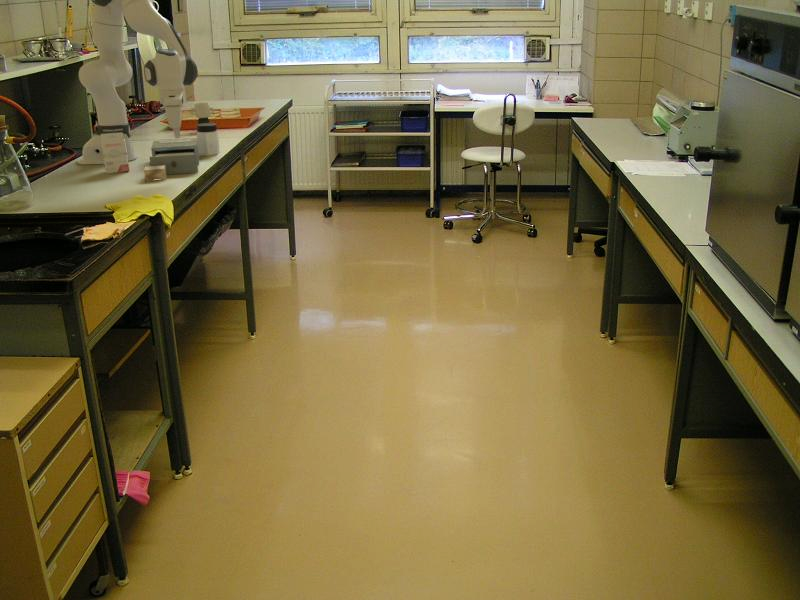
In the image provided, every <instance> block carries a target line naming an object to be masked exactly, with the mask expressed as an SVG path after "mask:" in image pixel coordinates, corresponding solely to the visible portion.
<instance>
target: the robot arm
mask: <svg viewBox="0 0 800 600" xmlns="http://www.w3.org/2000/svg"><path fill="white" fill-rule="evenodd" d="M91 2H92V3H93V4H94V5H93V6H94V7H93V12H92V13H93V14H92V32H91V33H92V35H91V40H92V43H93V45H94V46H95V47H96V48H97V50H98V55H99V59H96V60H91V61H88V62H86V63H84V64H83V65H82V66H81V67H79V71H78V80H79V82H80V84H82V86H83V87H85V88H86V90H88V92H89V94H90V96H91V97H92V100H93V102H94V105H95V111H96V116H97V123H98V124H95V125H94V126H93V132H94V133H93V134H94V135H93V136H92V137H91V138H90V139H89V140H88V141H87V142H86V143H85V144H84V145H83V146H82V155H81V156H80V157H79V158H78V159H77V164H79V165H104V159H103V152H102V146H101V136H100V135H101V134H107V133H121V132H122V133H123V137H124V139H125V144H126V150H127V157H128V162H129V161H133V160H135V159H137V155H136V153H135V150H134V147H133V143H132V140H131V136H132V135H131V134H132V132H131V126H130V124H129V121H128V115H127V108H126V107H127V106H126V103H125V102H124V100H122V99H121V97H120V96H119V95H118V92H117V87H121V86H123V85H126V84H127V83H128V82H129V81H131V79H132V77H133V68H132V66H131V64H130V62H128V60H127V58H126V54H125V50H124V18H125V21H126V23H127V25H128V26H129V28H131V29H132V30H133V31H135V32H136V33H138V34H142V35H145V36H150V37H152V38H153V37H154V38H157V39H159V40H161V41H163V42H164V43H165V44H166V46H167V47H168V48H162V49H159V50H157V51H156V52H155V57H153V58H151V59H148V60H147V61H146V62H145V64H144V66H143V74H144V79H145V81H146V83H148V84H149V85H151V87H156V88H157V87H158V95H159V101H160V102H159V103H160V105H162V107H164V110H165V114H166V118H167V122H168V126H169V128H170V129H172V130H173V133H174V138H175V139H180V138H181V132H180V131H181V126H182V110H181V109H182V108H184V104H185V103H186V102H187V97H186V89H185V88H186V87H185V86H191V85H192V84H194V82H195V81H196V80H197V78H198V76H199V74H198V73H199V72H198V70H199V69H198V67H197V64H196V62H195V61H194V59H193V58H192V57H191V55H190V53H188V51H187V49H186V47H185V46H184V44H183V41H182V40H181V39H180V38H181V37H180V36H179V35H178V33H177V31H176V30H175V28H174V26H173V24H171V21H170V20H168V18H165V17H163V16H162V15H161V14H160V13H159V11H157V9H156V7H155V4H154V2H153V0H91ZM108 138H116V136H109V137H108Z"/></svg>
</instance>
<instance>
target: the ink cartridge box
mask: <svg viewBox="0 0 800 600" xmlns="http://www.w3.org/2000/svg"><path fill="white" fill-rule="evenodd" d="M100 136H101V146H102V152H103V159H104V164H103V165H104V170H105V173H106V174H114V173H113V172H119V173H124V172H123V171H129V172H130V165H129V161H128V157H127V150H126V144H125V139H124V137H123V133H122V132H121V133H107V134H101V135H100ZM109 136H116V138H108V137H109Z"/></svg>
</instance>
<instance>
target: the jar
mask: <svg viewBox="0 0 800 600" xmlns="http://www.w3.org/2000/svg"><path fill="white" fill-rule="evenodd" d="M195 127H196V139H198V148H199V156H203V155H204V156H205V157H210V155H211V156H217V154H218V155H219V154H220V152H221V151H220V143H219V142H220V141H219V130H218V124H217V123H215V122H210V123H202V124H198V123H197V124H196V126H195Z"/></svg>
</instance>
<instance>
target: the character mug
mask: <svg viewBox="0 0 800 600" xmlns="http://www.w3.org/2000/svg"><path fill="white" fill-rule="evenodd" d="M193 105H194V107H190V114H191V115H193V116H194V115H195V117H196V118H198V120H197V124H202V123H211V122H210V119H209V118H210V117H211V115H215V107H214V106H211V105H210V102H196V103H194V104H193ZM194 111H195V112H194Z"/></svg>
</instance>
